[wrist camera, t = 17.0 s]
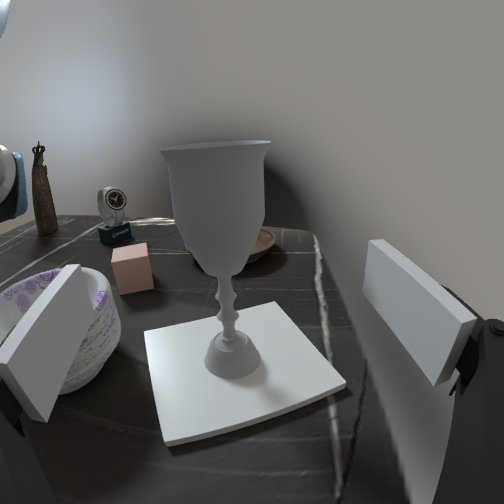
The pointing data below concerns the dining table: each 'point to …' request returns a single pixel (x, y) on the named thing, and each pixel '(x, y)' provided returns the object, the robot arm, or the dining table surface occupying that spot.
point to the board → (233, 390)
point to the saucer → (258, 245)
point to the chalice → (221, 230)
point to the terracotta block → (132, 269)
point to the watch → (113, 205)
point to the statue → (42, 195)
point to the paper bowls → (97, 337)
